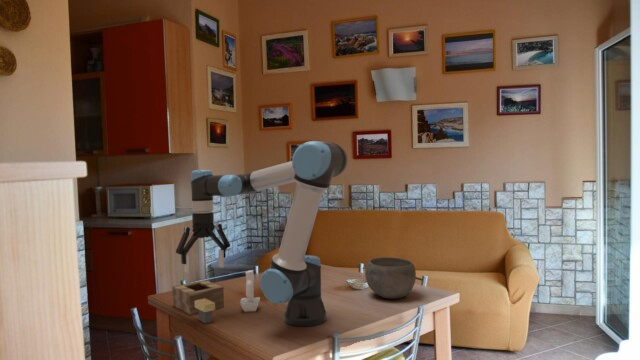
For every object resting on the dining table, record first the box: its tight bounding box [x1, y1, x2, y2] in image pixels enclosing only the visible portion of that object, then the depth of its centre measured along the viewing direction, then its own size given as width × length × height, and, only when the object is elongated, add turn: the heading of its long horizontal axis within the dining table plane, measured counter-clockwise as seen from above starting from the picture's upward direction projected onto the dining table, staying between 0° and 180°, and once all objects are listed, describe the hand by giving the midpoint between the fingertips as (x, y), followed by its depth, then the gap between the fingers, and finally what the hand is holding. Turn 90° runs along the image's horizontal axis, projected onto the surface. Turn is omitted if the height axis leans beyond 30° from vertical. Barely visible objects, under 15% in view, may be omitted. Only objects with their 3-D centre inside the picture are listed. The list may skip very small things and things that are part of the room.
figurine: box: [239, 269, 261, 313], centre depth 176 cm, size 7×9×15 cm
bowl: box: [364, 256, 417, 300], centre depth 190 cm, size 21×21×15 cm
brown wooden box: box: [172, 279, 225, 316], centre depth 181 cm, size 16×14×8 cm
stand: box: [198, 310, 212, 324], centre depth 164 cm, size 5×2×4 cm, turn 41°
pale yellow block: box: [195, 298, 216, 312], centre depth 164 cm, size 8×4×2 cm, turn 41°
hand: (204, 269), depth 167 cm, fingers open, 13 cm apart
